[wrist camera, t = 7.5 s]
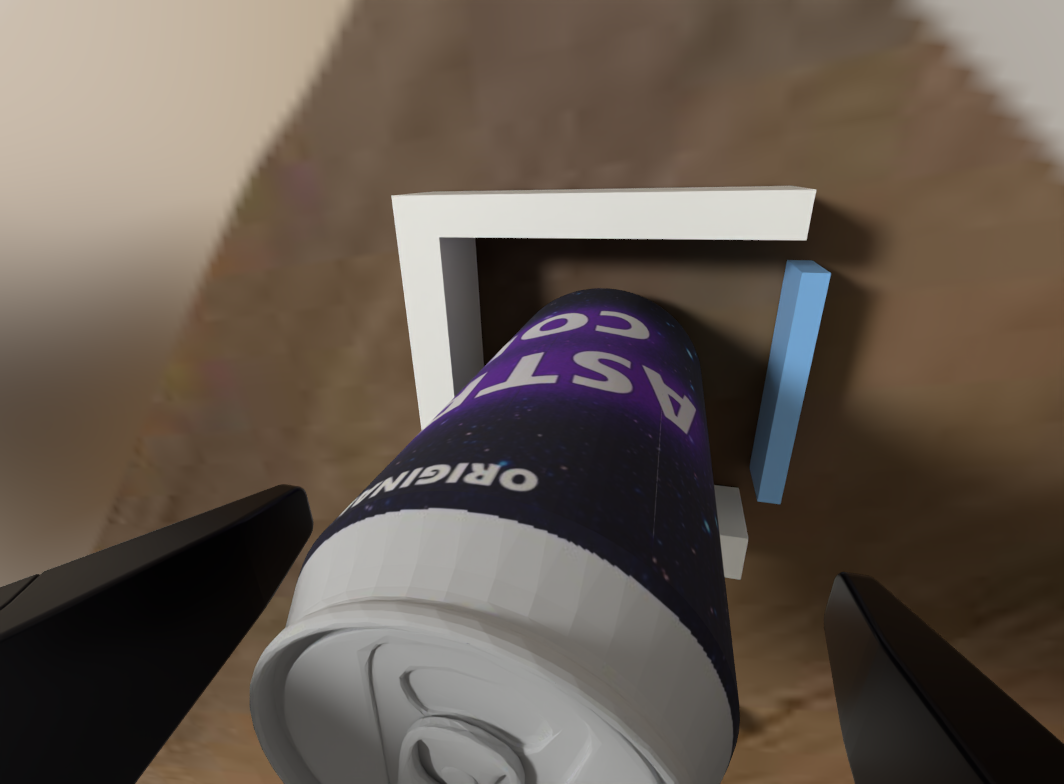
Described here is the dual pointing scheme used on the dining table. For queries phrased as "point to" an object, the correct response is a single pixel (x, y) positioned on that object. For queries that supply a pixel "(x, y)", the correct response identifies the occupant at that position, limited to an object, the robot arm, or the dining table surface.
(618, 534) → the beverage can
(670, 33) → the dining table surface
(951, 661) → the robot arm
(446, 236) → the white open frame
